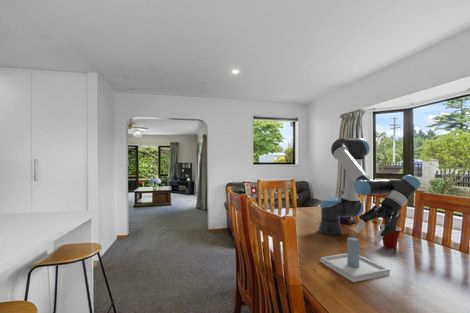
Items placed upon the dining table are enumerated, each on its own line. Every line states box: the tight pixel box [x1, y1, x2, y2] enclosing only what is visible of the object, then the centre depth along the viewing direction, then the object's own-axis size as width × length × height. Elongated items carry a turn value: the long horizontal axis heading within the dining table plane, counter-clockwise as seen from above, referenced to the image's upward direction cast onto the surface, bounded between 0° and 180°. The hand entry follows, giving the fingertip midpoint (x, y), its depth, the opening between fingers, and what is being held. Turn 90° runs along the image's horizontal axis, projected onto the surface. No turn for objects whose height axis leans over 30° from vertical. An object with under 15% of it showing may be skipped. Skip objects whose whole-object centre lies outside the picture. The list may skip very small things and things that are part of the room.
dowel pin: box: [346, 237, 360, 268], centre depth 107 cm, size 5×5×12 cm
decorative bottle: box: [339, 189, 357, 224], centre depth 188 cm, size 22×21×25 cm
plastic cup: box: [378, 223, 403, 250], centre depth 132 cm, size 11×11×12 cm
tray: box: [320, 252, 391, 283], centre depth 107 cm, size 20×20×2 cm
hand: (364, 235), depth 109 cm, fingers open, 13 cm apart
